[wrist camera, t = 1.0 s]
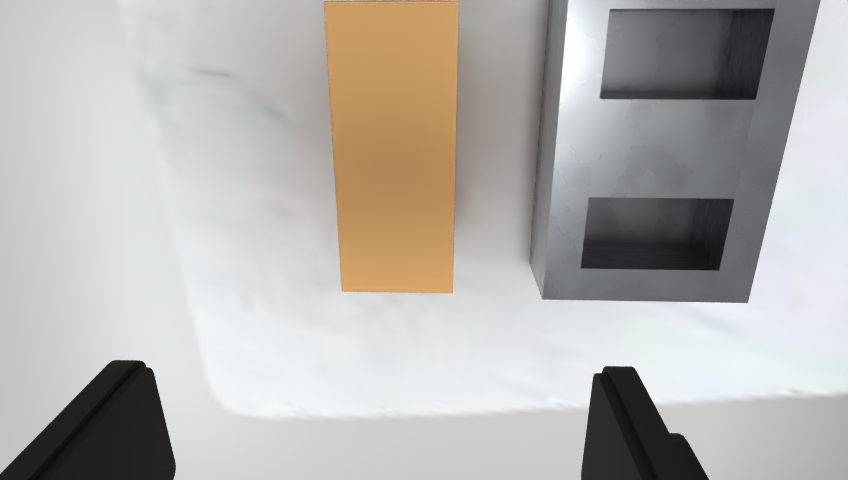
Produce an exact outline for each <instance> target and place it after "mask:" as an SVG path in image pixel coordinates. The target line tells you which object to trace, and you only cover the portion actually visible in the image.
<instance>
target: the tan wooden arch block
mask: <svg viewBox="0 0 848 480" xmlns="http://www.w3.org/2000/svg"><path fill="white" fill-rule="evenodd" d="M324 8H325V24H326V40H327V57H328V73H329V89H330V106H331V122H332V138H333V154H334V171H335V187H336V203H337V220H338V236H339V252H340V269H341V285H342V291H349V292H409V293H453V262H454V214H455V165H456V117H457V68H458V19H459V1H324Z"/></svg>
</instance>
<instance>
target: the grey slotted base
mask: <svg viewBox="0 0 848 480" xmlns="http://www.w3.org/2000/svg"><path fill="white" fill-rule="evenodd" d="M819 4H820V0H549V12H548V26H547V39H546V52H545V65H544V79H543V92H542V105H541V118H540V132H539V145H538V158H537V171H536V184H535V198H534V211H533V224H532V237H531V251H530V266H531V269H532V271H533V274H534V277H535V280H536V283H537V285H538V288H539V291H540V294H541V297H542V299H552V300H611V301H670V302H729V303H748V300H749V296H750V291H751V287H752V283H753V279H754V275H755V271H756V267H757V262H758V258H759V254H760V250H761V246H762V242H763V237H764V233H765V229H766V225H767V221H768V217H769V212H770V208H771V204H772V200H773V196H774V192H775V187H776V183H777V179H778V175H779V171H780V167H781V162H782V158H783V154H784V150H785V146H786V142H787V137H788V133H789V129H790V125H791V121H792V117H793V112H794V108H795V104H796V100H797V96H798V92H799V88H800V83H801V79H802V75H803V71H804V67H805V63H806V58H807V54H808V50H809V46H810V42H811V38H812V33H813V29H814V25H815V21H816V17H817V13H818V8H819Z"/></svg>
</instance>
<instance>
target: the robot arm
mask: <svg viewBox="0 0 848 480" xmlns="http://www.w3.org/2000/svg"><path fill="white" fill-rule="evenodd" d="M175 470H176V465H175V459H174V455H173V451H172V447H171V443H170V439H169V434H168V430H167V426H166V422H165V418H164V413H163V410H162V405H161V401H160V397H159V393H158V389H157V385H156V380H155V376H154V373H153V370H152V369H151V368H147V367H146V365H145V363H144V362H142V361H136V360H135V361H134V360H115V361H111V362H110V363H109V364H108V365H107V366H106V367H105V368H104V369H103V370H102V371H101V372H100V373H99V374H98V375H97V376H96V377H95V378H94V379H93V380H92V381H91V382H90V383H89V384H88V385H87V386H86V387H85V388H84V389H83V390H82V391H81V392H80V393H79V394H78V395H77V396H76V397H75V398H74V399H73V400H72V401H71V402H70V403H69V404H68V405H67V406H66V407H65V408H64V410H63V411H62V412H61V413H60V414H59V415H58V416H57V417H56V418H55V419H54V420H53V421H52V422H51V423H50V424H49V425H48V426H47V427H46V428H45V429H44V430H43V431H42V432H41V433H40V434H39V435H38V436H37V437H36V438H35V439H34V440H33V441H32V442H31V443H30V444H29V445H28V446H27V447H26V448H25V449H24V451H22V452H21V453H20V454H19V455H18V456H17V457H16V458H15V459H14V460H13V462H12V463H11V464H10V465H9V466H8V467H7V468H6V469H5V470H4V471H3V472H2V473H1V474H0V480H173V479H174V476H175ZM581 480H709V479H708V477H707V475H706V473H705V472H704V470H703V468H702V466H701V465H700V463H699V461H698V459H697V457H696V456H695V454H694V452H693V450H692V449H691V447H690V445H689V443H688V442H687V440H686V439H685V438H684V436H682V435H681V434H678V433H669V432H668V430H667V428H666V426H665V424H664V422H663V420H662V418H661V416H660V415H659V413H658V411H657V409H656V407H655V405H654V403H653V401H652V400H651V398H650V396H649V394H648V392H647V390H646V388H645V386H644V385H643V383H642V381H641V379H640V377H639V375H638V373H637V371H636V370H635V369H634V367H616V366H605V367H604V368H603V371H602V373H596V374H594V377H593V383H592V391H591V399H590V407H589V415H588V424H587V431H586V439H585V447H584V455H583V463H582V472H581Z"/></svg>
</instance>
